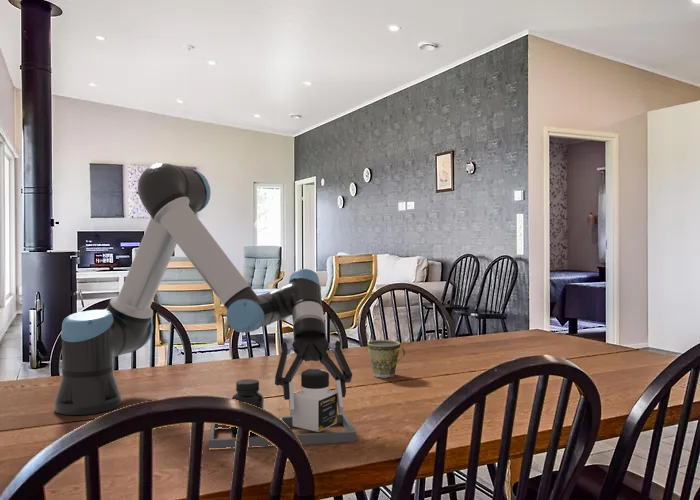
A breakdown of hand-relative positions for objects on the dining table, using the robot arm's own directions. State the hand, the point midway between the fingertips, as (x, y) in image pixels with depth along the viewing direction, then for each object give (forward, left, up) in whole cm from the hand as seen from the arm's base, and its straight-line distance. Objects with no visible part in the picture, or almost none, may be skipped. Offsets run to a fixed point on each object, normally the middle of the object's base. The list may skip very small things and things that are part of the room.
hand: (316, 411), depth 127 cm
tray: (-6, +5, -6) cm, 10 cm away
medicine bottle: (+1, +3, -4) cm, 5 cm away
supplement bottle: (-13, +7, -6) cm, 16 cm away
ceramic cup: (+40, +41, -6) cm, 57 cm away
